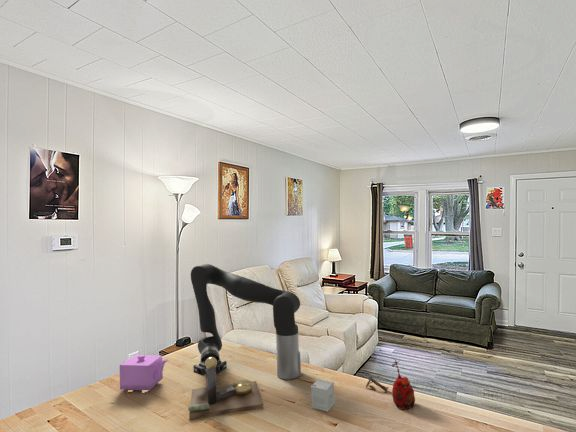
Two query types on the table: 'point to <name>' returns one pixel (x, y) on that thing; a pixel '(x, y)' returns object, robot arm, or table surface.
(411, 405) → the red rounded piece
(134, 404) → the table surface
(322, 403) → the skincare box
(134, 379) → the teapot
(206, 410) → the walnut base
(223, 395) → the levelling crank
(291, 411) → the table surface
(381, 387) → the wooden post with brackets
